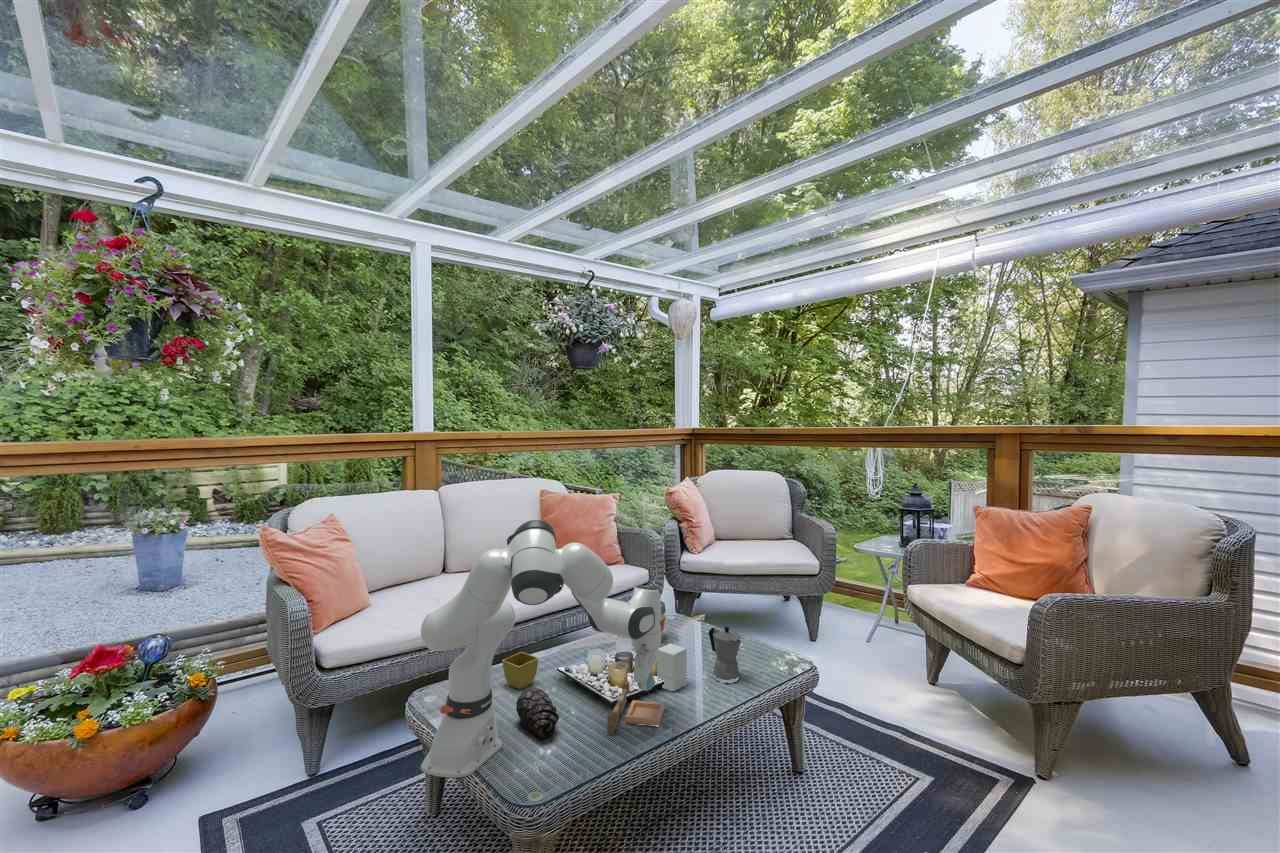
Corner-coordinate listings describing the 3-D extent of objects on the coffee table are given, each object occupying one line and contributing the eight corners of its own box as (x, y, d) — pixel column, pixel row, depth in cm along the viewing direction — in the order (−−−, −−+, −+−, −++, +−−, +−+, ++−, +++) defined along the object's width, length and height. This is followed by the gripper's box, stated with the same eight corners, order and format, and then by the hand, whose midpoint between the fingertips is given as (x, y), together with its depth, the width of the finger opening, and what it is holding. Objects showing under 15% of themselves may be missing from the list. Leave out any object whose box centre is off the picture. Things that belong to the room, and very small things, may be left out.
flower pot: (518, 694, 193) (519, 666, 192) (501, 686, 198) (501, 659, 198) (538, 684, 200) (539, 657, 199) (521, 677, 205) (521, 651, 205)
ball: (652, 694, 175) (653, 677, 175) (636, 692, 176) (636, 676, 176) (655, 686, 180) (655, 670, 180) (639, 685, 181) (639, 669, 181)
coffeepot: (749, 682, 202) (750, 629, 202) (730, 689, 197) (730, 635, 196) (718, 666, 215) (719, 617, 214) (699, 672, 209) (699, 622, 209)
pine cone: (539, 748, 162) (539, 712, 162) (509, 721, 176) (509, 688, 176) (571, 735, 168) (571, 700, 168) (540, 710, 182) (540, 678, 182)
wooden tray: (659, 727, 173) (659, 720, 173) (625, 723, 175) (625, 716, 175) (664, 710, 182) (664, 703, 182) (632, 707, 184) (632, 700, 184)
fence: (613, 735, 168) (613, 716, 168) (607, 734, 169) (607, 715, 168) (629, 699, 190) (629, 681, 189) (623, 698, 190) (623, 681, 190)
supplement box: (687, 685, 199) (687, 648, 199) (673, 693, 194) (673, 655, 194) (670, 678, 204) (670, 642, 204) (656, 685, 199) (656, 648, 199)
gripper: (650, 653, 167) (650, 702, 167) (662, 627, 187) (661, 671, 187) (628, 651, 168) (628, 699, 168) (642, 626, 188) (642, 669, 188)
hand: (646, 684), depth 178 cm, fingers closed on ball, 5 cm apart
